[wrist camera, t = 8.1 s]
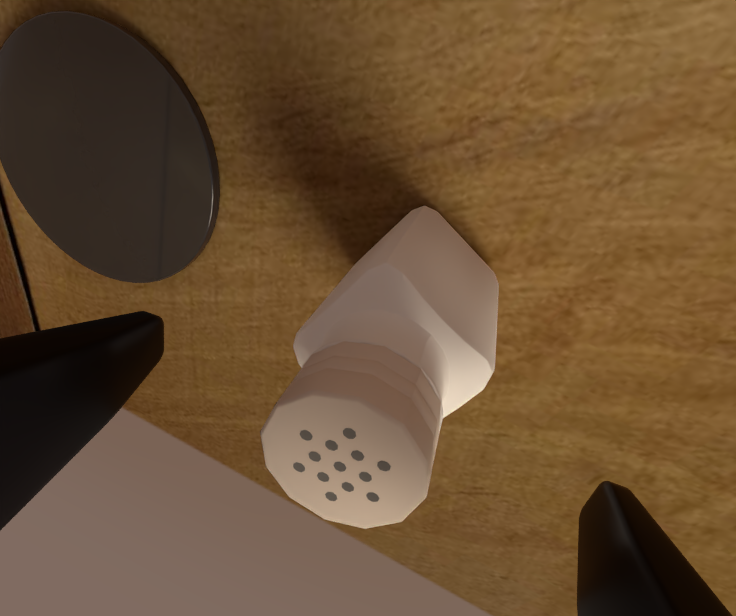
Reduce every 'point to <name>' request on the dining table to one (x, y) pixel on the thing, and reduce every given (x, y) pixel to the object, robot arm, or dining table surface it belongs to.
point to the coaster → (106, 147)
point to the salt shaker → (384, 374)
